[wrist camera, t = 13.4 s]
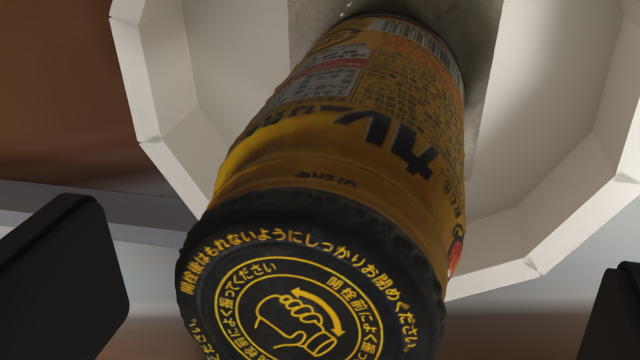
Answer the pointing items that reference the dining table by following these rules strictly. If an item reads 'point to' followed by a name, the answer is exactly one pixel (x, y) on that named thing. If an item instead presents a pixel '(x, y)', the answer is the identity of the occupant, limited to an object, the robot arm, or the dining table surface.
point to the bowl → (495, 129)
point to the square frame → (106, 212)
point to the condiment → (346, 188)
